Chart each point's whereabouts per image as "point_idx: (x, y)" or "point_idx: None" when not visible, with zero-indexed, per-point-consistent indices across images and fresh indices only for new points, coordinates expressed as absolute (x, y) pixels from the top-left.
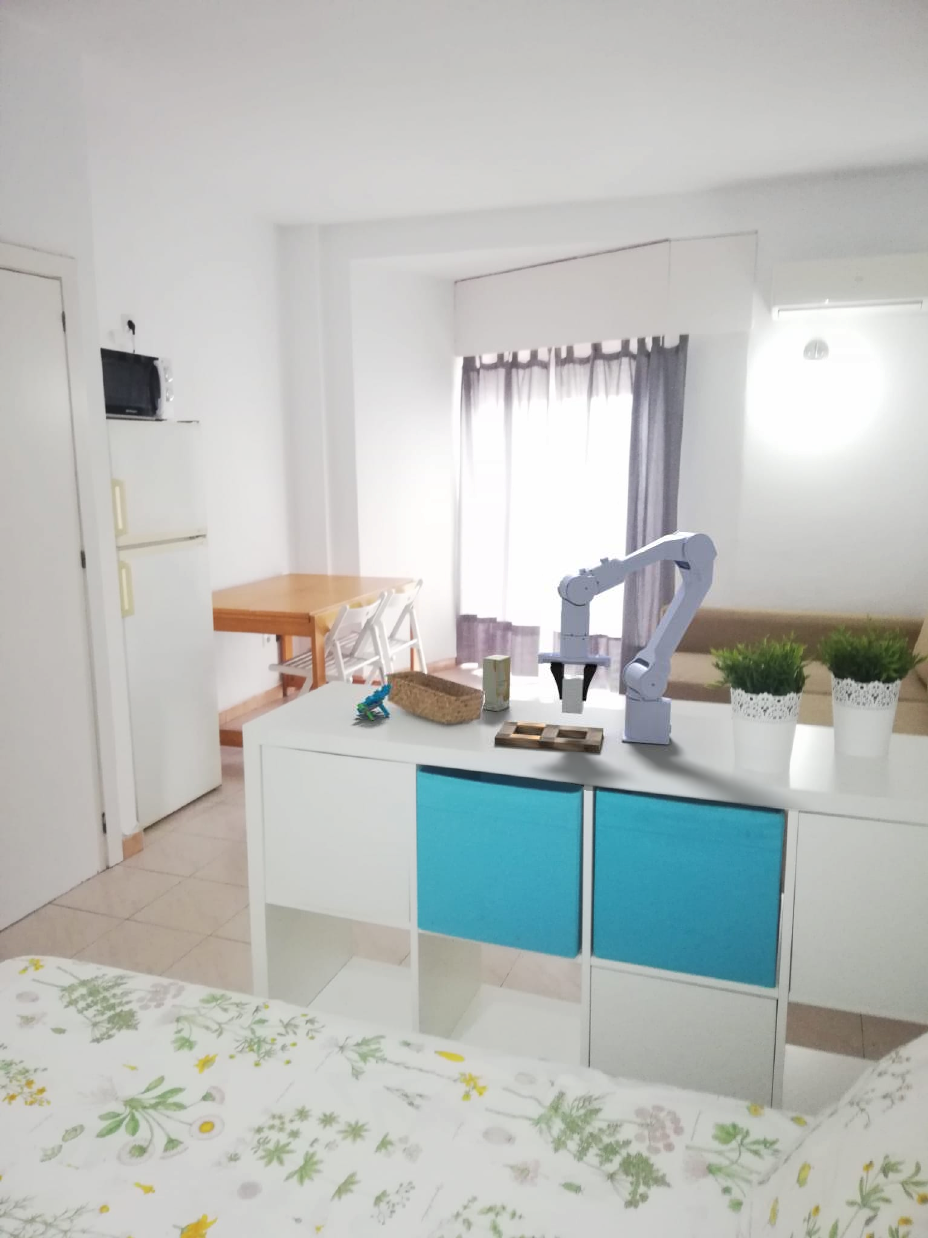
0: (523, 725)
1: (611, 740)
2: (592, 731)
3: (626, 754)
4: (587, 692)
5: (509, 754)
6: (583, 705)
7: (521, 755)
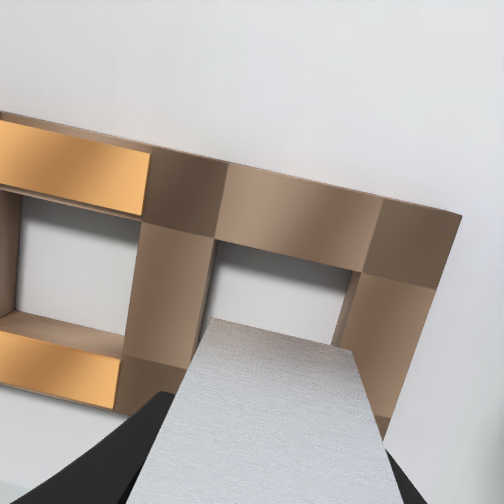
0: (30, 189)
1: (465, 291)
2: (385, 276)
3: (474, 470)
4: (412, 490)
5: (22, 455)
6: (355, 365)
7: (65, 466)
